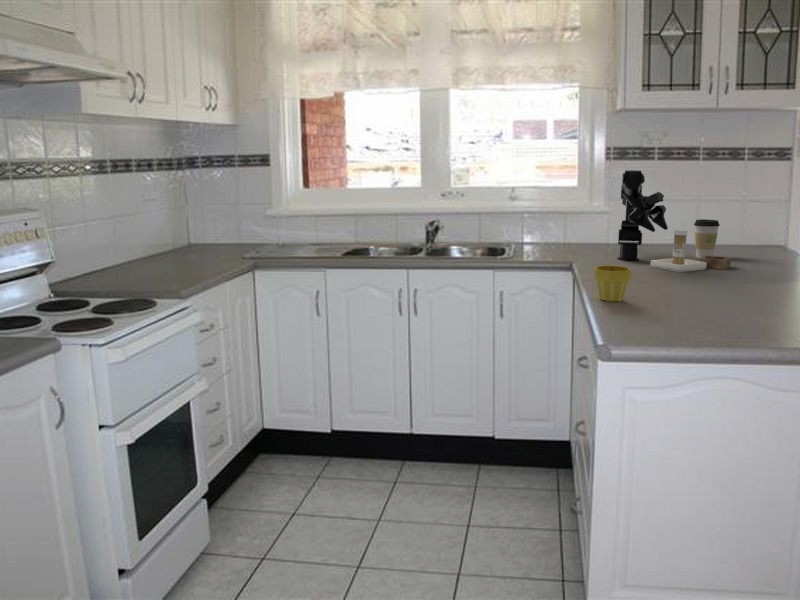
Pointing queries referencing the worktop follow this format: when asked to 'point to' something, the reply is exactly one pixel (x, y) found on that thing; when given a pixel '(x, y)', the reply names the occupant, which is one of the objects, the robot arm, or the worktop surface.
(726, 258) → the walnut holder
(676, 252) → the sprinkles bottle
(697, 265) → the cream tray
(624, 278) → the plant pot
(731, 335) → the worktop surface
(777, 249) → the worktop surface
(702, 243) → the coffee cup
